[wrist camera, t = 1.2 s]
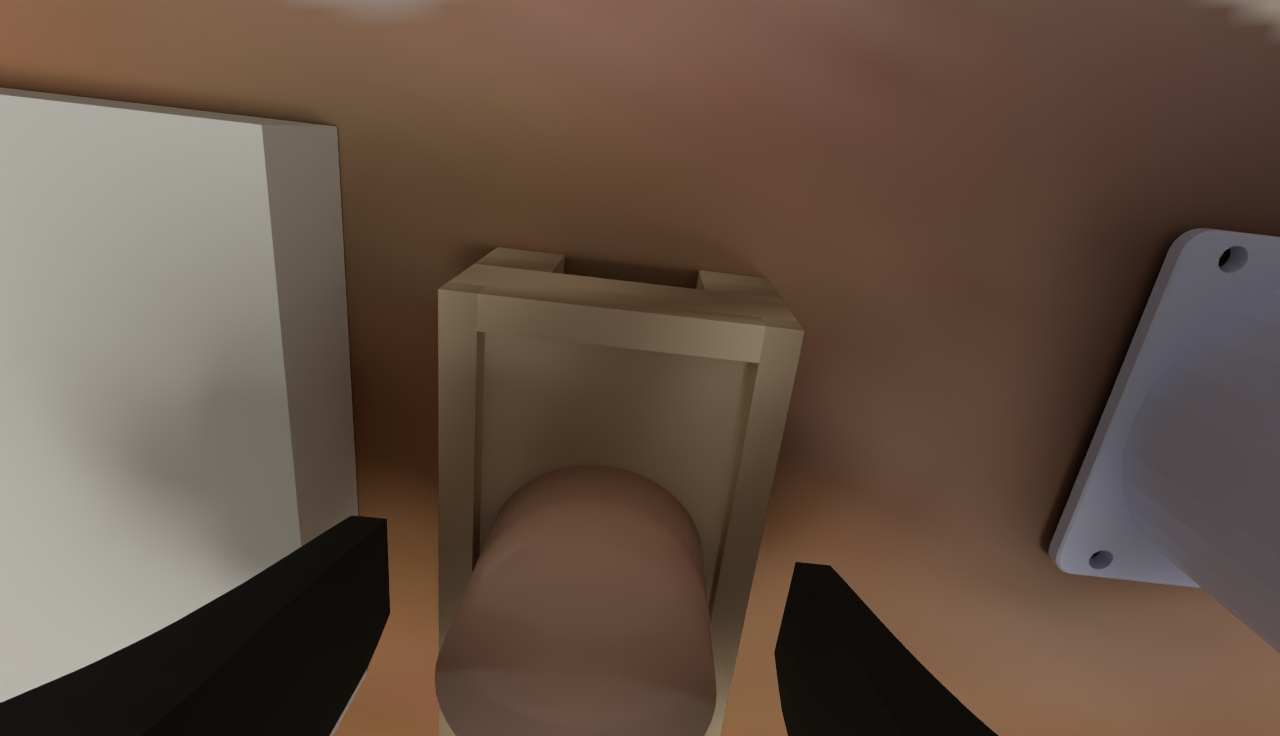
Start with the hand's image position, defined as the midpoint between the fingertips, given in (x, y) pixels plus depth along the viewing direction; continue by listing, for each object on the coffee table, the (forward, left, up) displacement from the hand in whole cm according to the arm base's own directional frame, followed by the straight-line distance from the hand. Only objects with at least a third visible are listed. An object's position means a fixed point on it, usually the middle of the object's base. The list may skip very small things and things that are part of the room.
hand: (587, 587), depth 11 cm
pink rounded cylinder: (0, 0, -1) cm, 1 cm away
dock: (+10, 0, -4) cm, 11 cm away
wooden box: (0, 0, -4) cm, 4 cm away
